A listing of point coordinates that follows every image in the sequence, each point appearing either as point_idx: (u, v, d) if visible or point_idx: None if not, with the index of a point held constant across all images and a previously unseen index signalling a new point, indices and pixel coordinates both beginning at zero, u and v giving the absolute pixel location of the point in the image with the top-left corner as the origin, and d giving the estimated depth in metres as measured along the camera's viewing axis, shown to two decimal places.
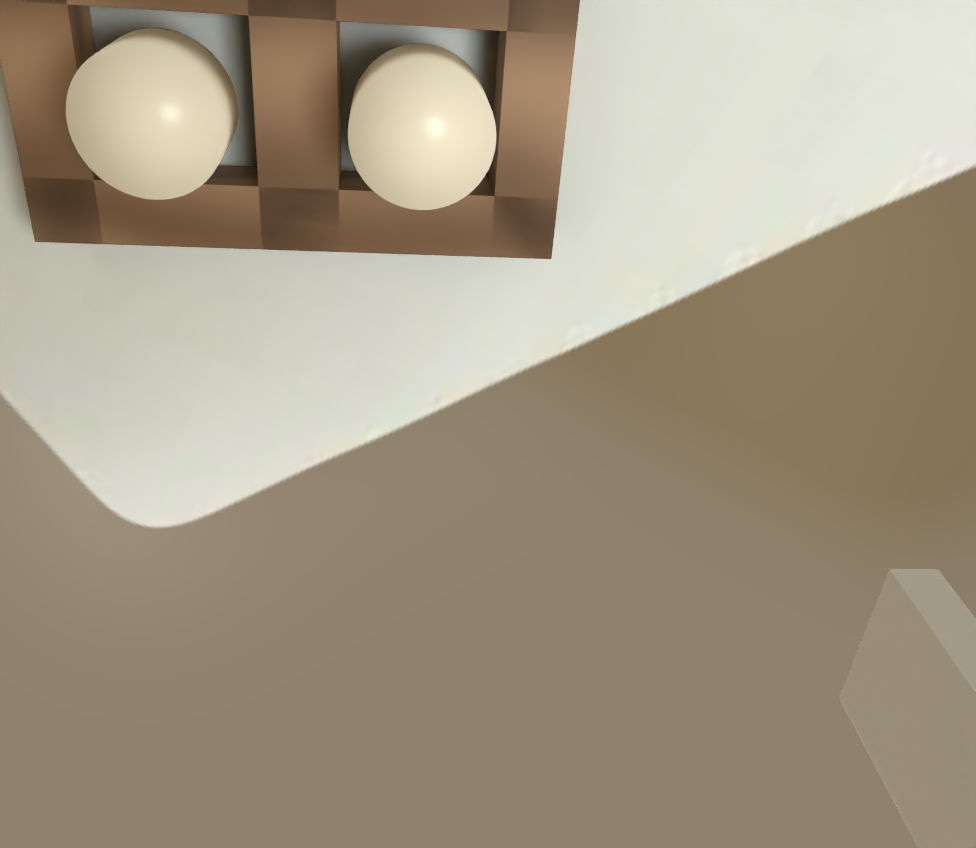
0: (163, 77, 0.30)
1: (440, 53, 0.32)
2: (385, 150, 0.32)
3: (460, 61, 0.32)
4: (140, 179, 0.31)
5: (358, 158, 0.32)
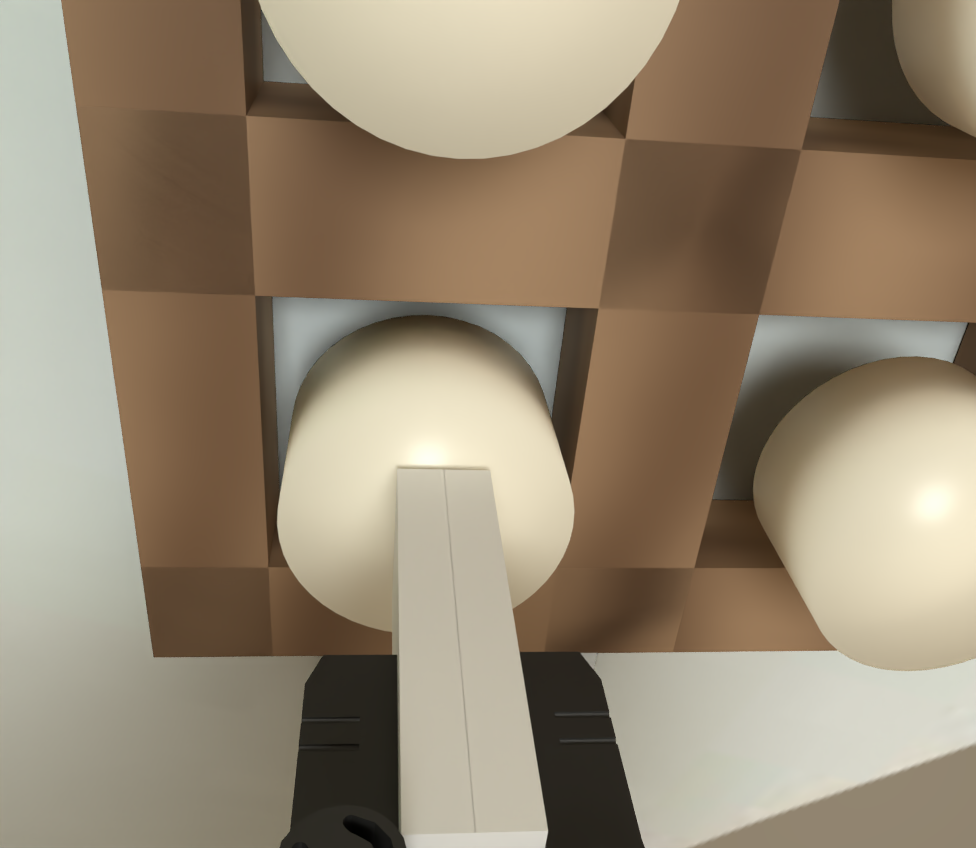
0: (884, 534, 0.15)
1: None
2: None
3: None
4: None
5: None
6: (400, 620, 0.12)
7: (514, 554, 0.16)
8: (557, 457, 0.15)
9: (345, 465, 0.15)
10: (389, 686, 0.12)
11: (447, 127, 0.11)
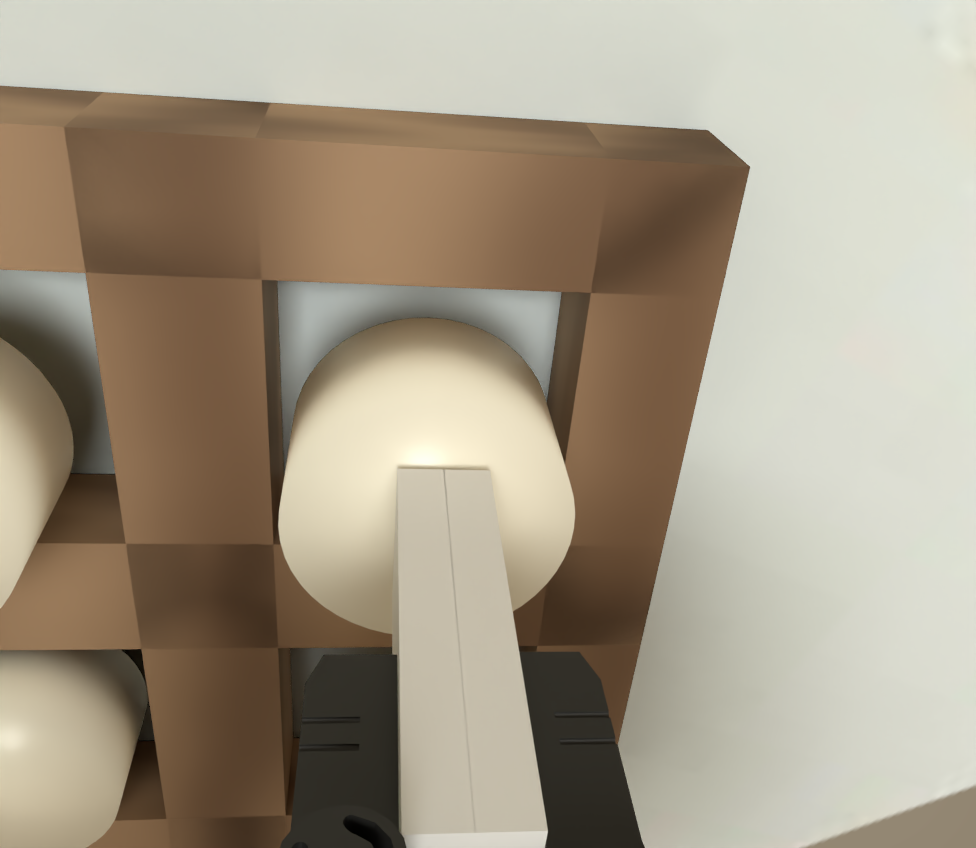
0: None
1: (290, 440, 0.17)
2: None
3: (308, 393, 0.17)
4: None
5: None
6: (400, 620, 0.12)
7: (78, 810, 0.21)
8: (90, 749, 0.20)
9: None
10: (389, 686, 0.12)
11: None
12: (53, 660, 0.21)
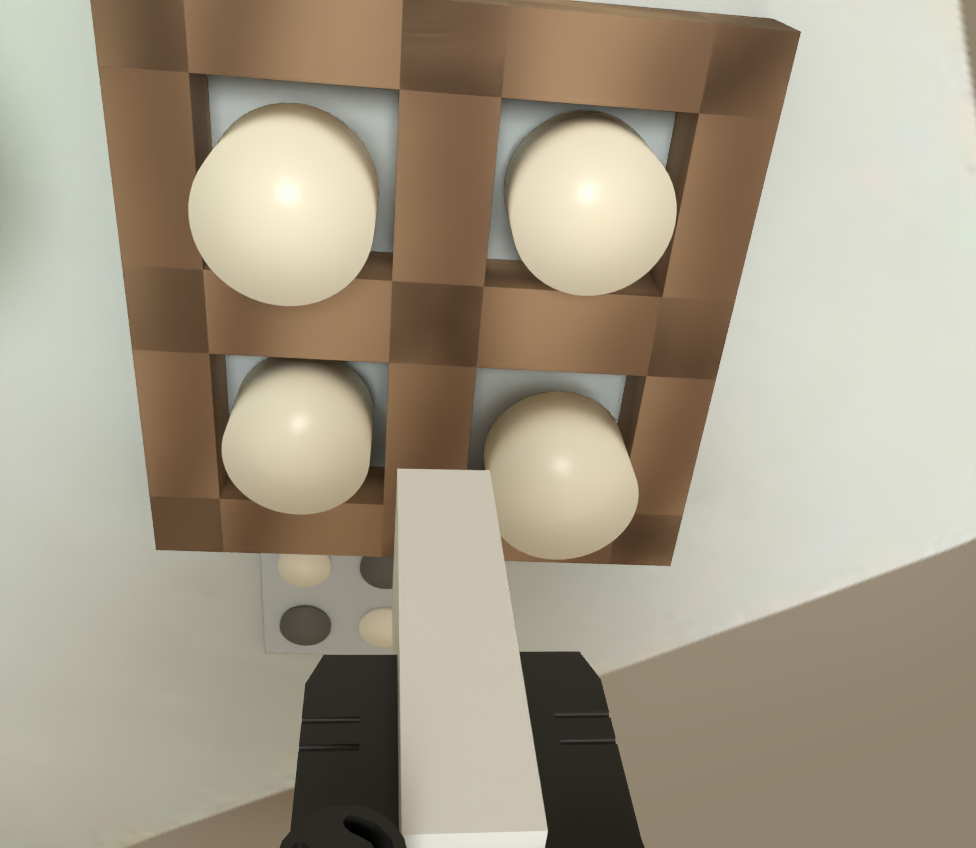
0: (520, 482, 0.31)
1: (511, 177, 0.29)
2: (603, 259, 0.29)
3: (522, 150, 0.29)
4: (615, 512, 0.31)
5: (608, 286, 0.29)
6: (400, 620, 0.12)
7: (341, 472, 0.32)
8: (357, 423, 0.31)
9: (253, 424, 0.31)
10: (389, 686, 0.12)
11: (278, 293, 0.27)
12: (328, 372, 0.32)
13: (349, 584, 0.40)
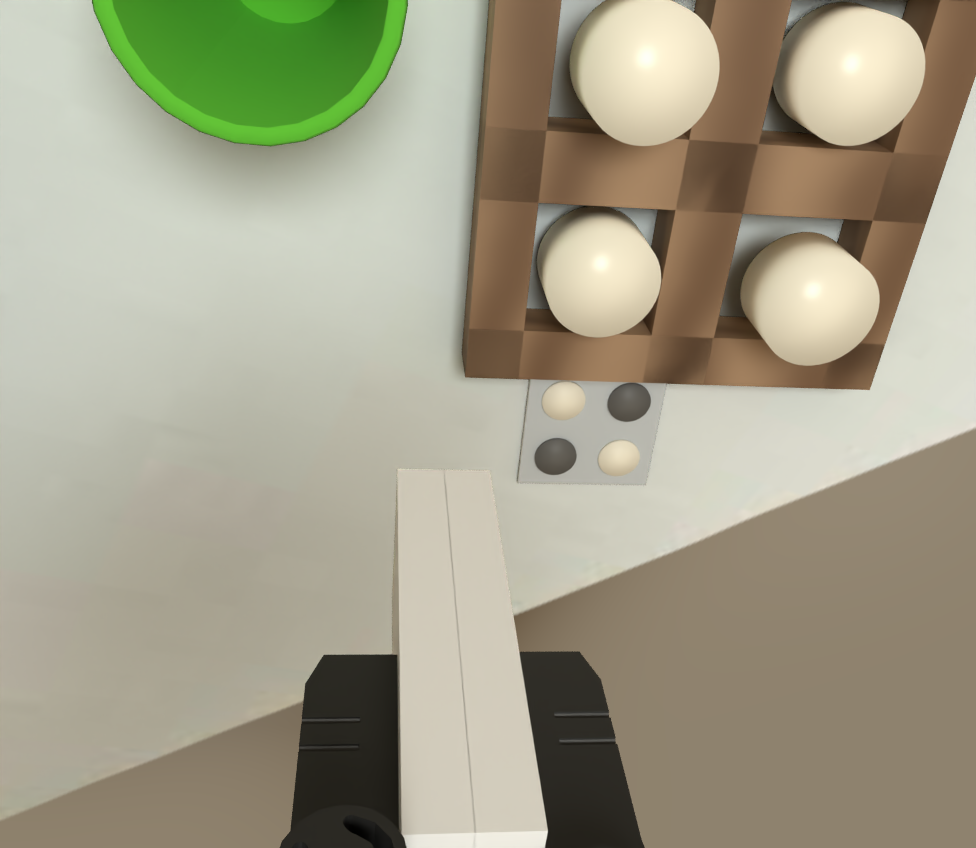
0: (790, 297, 0.39)
1: (790, 53, 0.38)
2: (864, 114, 0.37)
3: (798, 32, 0.38)
4: (858, 323, 0.40)
5: (864, 138, 0.38)
6: (400, 620, 0.12)
7: (636, 299, 0.41)
8: (655, 256, 0.40)
9: (575, 257, 0.39)
10: (389, 686, 0.12)
11: (637, 135, 0.35)
12: (624, 220, 0.41)
13: (596, 418, 0.48)
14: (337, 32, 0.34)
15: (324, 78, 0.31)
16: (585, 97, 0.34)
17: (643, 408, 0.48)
